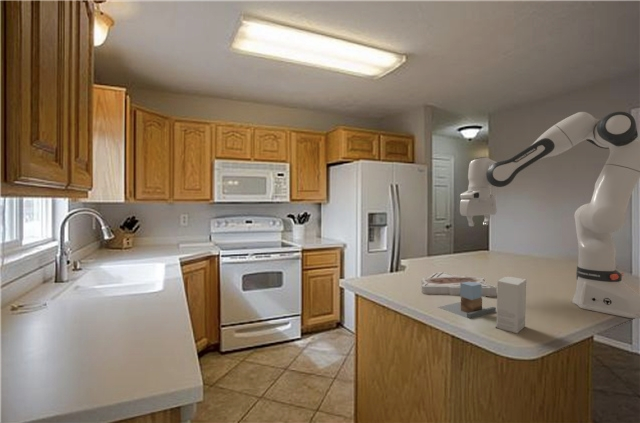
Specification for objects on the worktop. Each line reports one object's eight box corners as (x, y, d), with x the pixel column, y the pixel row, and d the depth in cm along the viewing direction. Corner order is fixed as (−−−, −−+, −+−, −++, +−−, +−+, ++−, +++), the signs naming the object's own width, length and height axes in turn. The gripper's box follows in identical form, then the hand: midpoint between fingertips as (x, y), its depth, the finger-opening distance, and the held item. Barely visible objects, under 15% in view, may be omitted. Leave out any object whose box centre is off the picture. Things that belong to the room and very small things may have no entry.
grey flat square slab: (495, 313, 123) (495, 307, 123) (469, 320, 116) (469, 314, 116) (463, 302, 135) (463, 297, 135) (437, 308, 129) (437, 303, 129)
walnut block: (482, 312, 122) (482, 298, 122) (472, 314, 120) (472, 300, 120) (470, 308, 127) (470, 295, 127) (460, 310, 125) (460, 296, 124)
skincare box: (505, 321, 115) (505, 275, 114) (527, 326, 110) (527, 279, 109) (495, 328, 109) (496, 280, 108) (518, 334, 104) (519, 283, 104)
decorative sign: (499, 297, 143) (474, 280, 173) (499, 287, 143) (474, 272, 172) (422, 296, 146) (410, 279, 176) (422, 287, 146) (410, 271, 175)
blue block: (481, 298, 123) (481, 284, 123) (472, 300, 120) (472, 286, 120) (469, 294, 127) (469, 281, 127) (460, 296, 125) (460, 283, 125)
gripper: (487, 194, 159) (487, 224, 160) (457, 194, 149) (457, 226, 150) (500, 194, 153) (500, 224, 154) (469, 194, 144) (469, 227, 144)
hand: (478, 225), depth 152 cm, fingers open, 8 cm apart
